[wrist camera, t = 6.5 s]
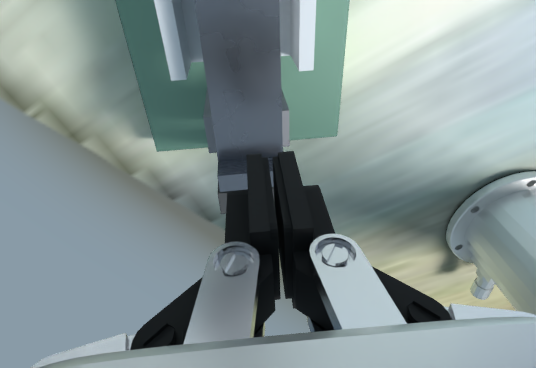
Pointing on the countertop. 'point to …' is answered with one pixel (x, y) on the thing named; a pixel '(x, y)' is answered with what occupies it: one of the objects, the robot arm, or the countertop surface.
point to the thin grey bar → (242, 82)
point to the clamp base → (194, 79)
